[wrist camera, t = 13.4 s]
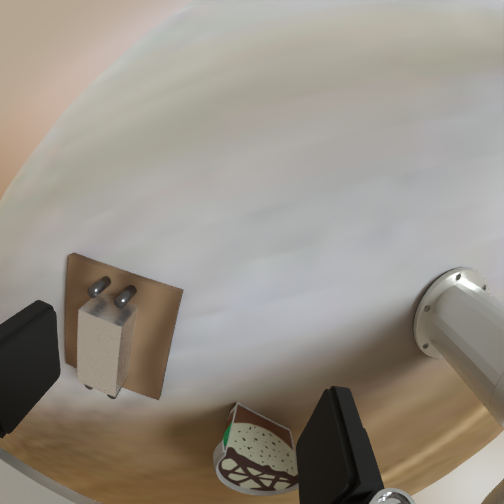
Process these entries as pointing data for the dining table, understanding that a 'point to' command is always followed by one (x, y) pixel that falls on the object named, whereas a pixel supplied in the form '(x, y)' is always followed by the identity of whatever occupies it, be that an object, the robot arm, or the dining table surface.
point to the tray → (147, 323)
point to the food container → (256, 454)
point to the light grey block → (105, 343)
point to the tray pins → (118, 301)
